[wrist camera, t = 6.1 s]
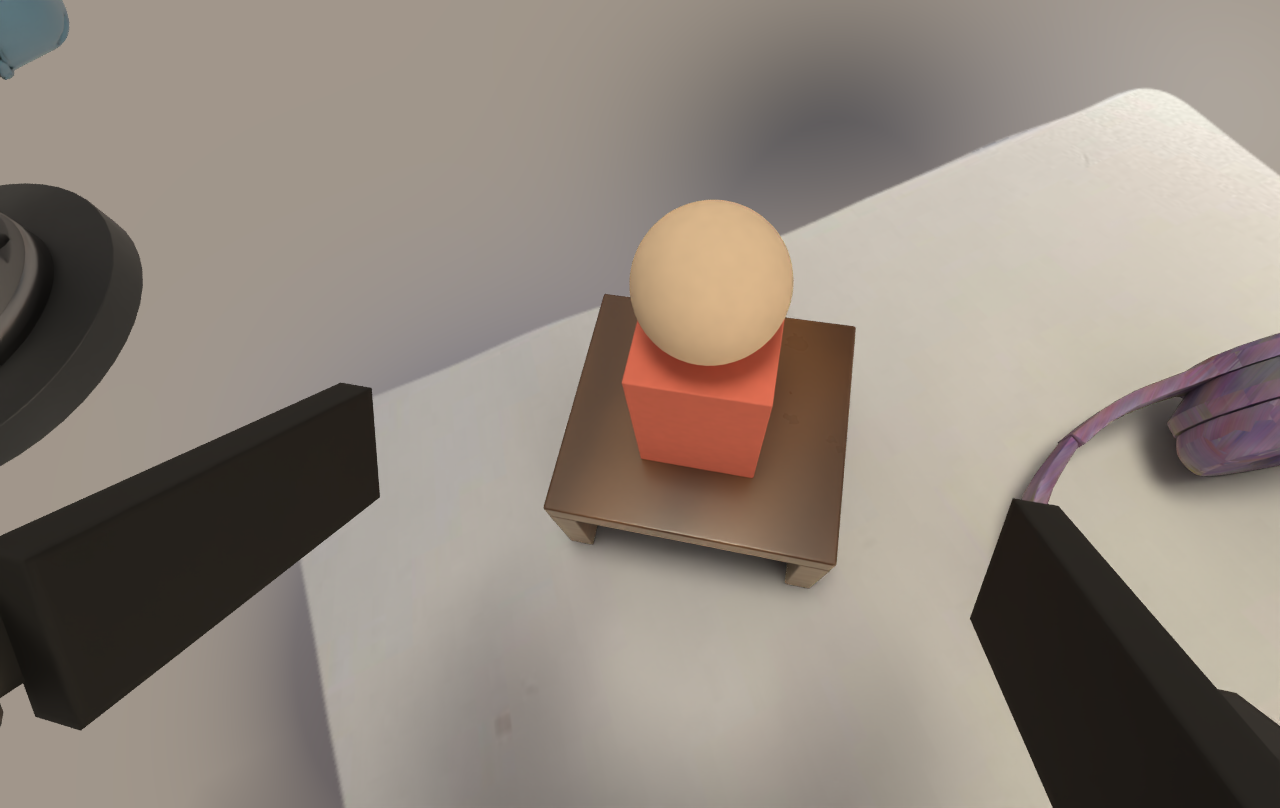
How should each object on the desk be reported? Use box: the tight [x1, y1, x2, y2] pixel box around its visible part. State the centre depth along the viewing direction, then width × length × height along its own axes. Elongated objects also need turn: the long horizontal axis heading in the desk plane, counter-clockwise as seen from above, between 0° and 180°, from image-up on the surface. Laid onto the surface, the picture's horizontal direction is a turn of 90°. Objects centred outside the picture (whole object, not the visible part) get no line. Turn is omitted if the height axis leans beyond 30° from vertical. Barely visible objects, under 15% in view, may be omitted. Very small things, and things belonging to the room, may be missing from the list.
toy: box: [622, 200, 793, 478], centre depth 21 cm, size 5×5×12 cm
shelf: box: [544, 294, 856, 588], centre depth 29 cm, size 12×11×6 cm
